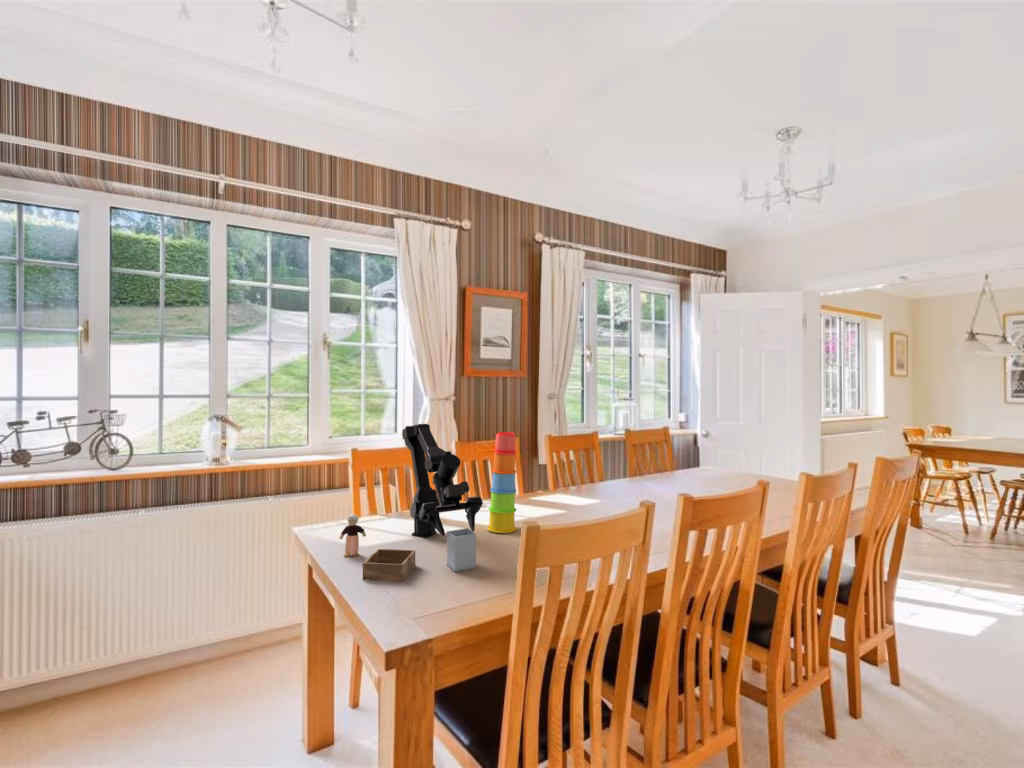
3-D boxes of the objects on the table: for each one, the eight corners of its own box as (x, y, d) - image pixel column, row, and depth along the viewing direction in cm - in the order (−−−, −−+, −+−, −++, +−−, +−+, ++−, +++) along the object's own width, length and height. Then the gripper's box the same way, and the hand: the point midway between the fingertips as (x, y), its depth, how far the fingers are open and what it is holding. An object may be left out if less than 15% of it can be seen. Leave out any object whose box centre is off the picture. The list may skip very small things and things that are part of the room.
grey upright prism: (446, 565, 147) (446, 531, 147) (467, 561, 150) (467, 528, 150) (454, 572, 142) (454, 537, 142) (475, 568, 145) (475, 533, 145)
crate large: (378, 564, 149) (378, 548, 148) (415, 565, 147) (415, 550, 147) (362, 579, 137) (362, 563, 137) (402, 581, 136) (402, 564, 136)
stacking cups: (490, 524, 187) (490, 430, 186) (518, 526, 185) (518, 431, 184) (484, 533, 177) (484, 434, 176) (513, 535, 175) (513, 434, 174)
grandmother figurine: (341, 559, 152) (340, 517, 152) (339, 555, 156) (338, 514, 156) (367, 554, 156) (367, 513, 156) (364, 551, 159) (364, 510, 159)
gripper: (421, 475, 148) (434, 523, 138) (480, 470, 157) (496, 514, 147) (413, 497, 155) (425, 543, 145) (470, 490, 164) (485, 534, 154)
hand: (459, 533), depth 148 cm, fingers open, 9 cm apart
